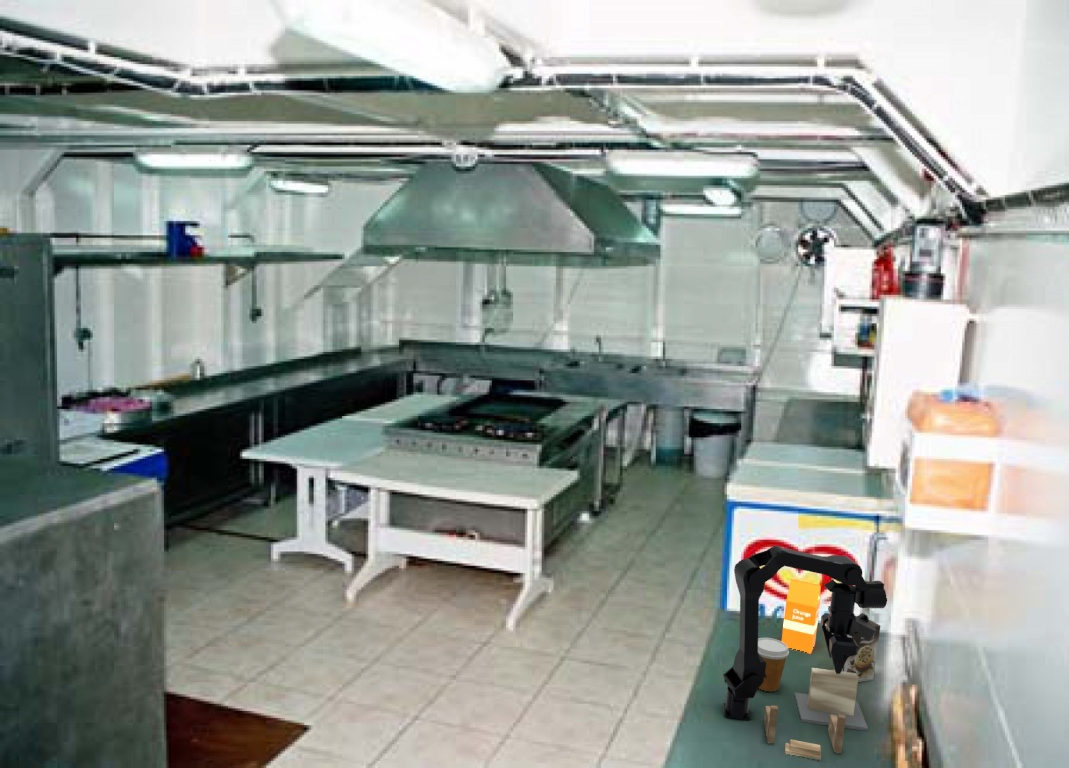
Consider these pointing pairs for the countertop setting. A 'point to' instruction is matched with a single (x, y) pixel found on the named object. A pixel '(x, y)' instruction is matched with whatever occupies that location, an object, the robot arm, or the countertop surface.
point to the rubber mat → (828, 714)
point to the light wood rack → (834, 727)
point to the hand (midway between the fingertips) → (834, 665)
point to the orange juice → (801, 615)
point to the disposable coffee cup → (772, 661)
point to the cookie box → (863, 656)
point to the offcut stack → (803, 749)
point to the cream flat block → (832, 691)
